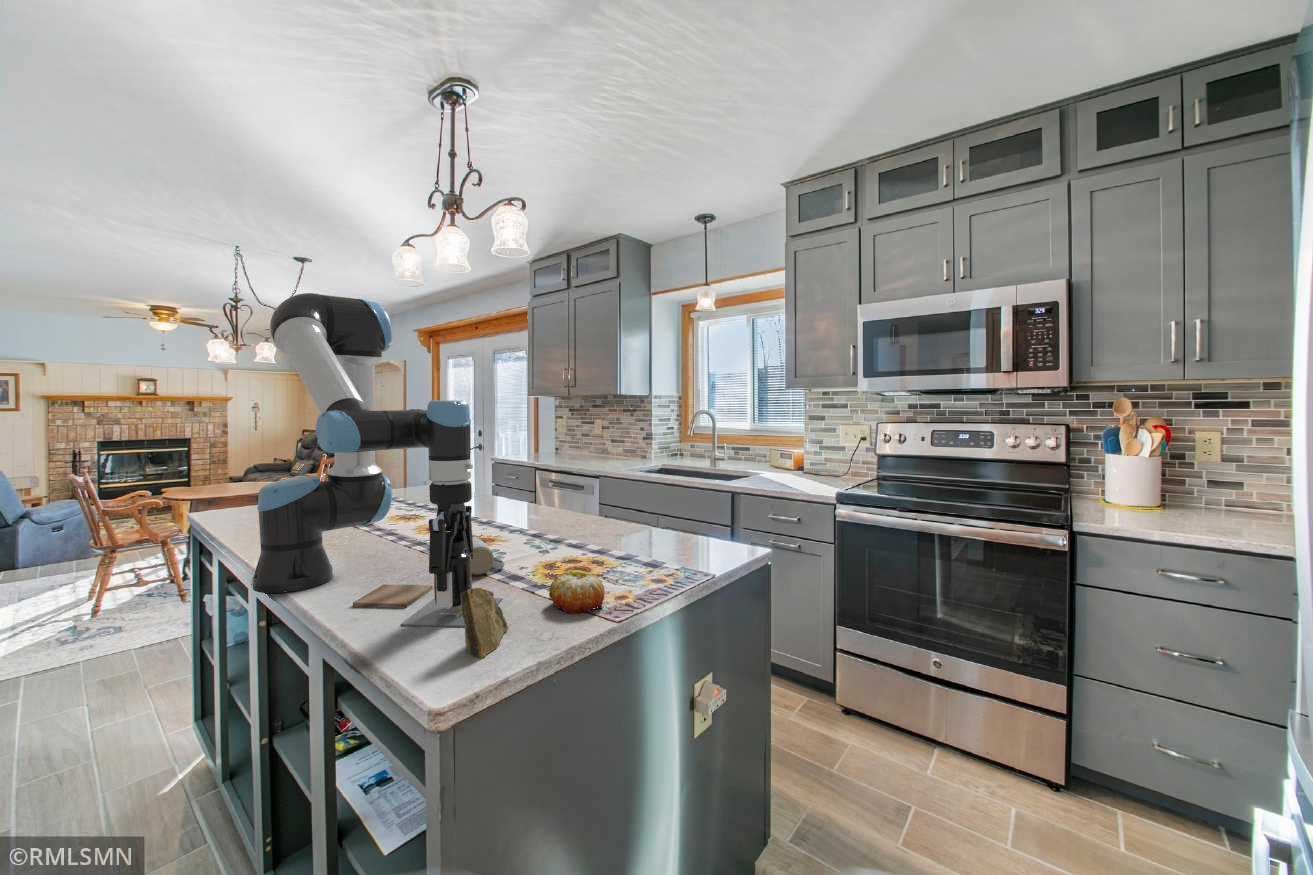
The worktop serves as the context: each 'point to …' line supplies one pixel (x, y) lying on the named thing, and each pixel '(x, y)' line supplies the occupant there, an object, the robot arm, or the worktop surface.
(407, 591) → the walnut coaster
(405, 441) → the robot arm
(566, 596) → the fruit
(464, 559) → the supplement bottle
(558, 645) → the worktop surface
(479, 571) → the ceramic mug
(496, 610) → the rock
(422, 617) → the tile
